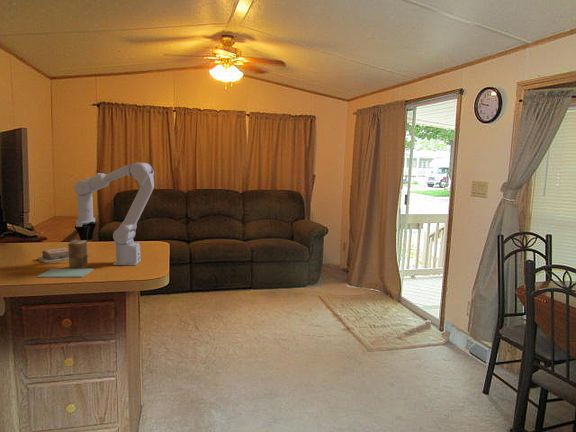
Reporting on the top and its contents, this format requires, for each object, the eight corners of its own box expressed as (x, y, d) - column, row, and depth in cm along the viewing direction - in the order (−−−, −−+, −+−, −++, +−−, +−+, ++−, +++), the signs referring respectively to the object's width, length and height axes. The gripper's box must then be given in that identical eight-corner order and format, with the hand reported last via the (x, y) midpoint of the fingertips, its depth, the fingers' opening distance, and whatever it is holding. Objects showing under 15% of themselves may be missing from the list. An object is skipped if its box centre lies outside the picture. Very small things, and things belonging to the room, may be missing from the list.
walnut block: (87, 266, 167) (86, 240, 166) (82, 269, 162) (81, 242, 161) (75, 266, 167) (73, 240, 166) (69, 269, 162) (68, 242, 161)
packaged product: (80, 244, 191) (88, 247, 184) (80, 254, 191) (89, 257, 185) (37, 249, 177) (44, 253, 171) (37, 260, 178) (45, 264, 171)
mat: (93, 269, 162) (93, 268, 162) (81, 277, 151) (81, 276, 151) (52, 269, 161) (51, 268, 161) (37, 277, 150) (37, 276, 150)
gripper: (83, 207, 178) (84, 237, 179) (67, 211, 163) (69, 244, 165) (99, 207, 178) (100, 238, 180) (85, 211, 164) (87, 244, 166)
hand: (86, 241), depth 172 cm, fingers open, 5 cm apart
